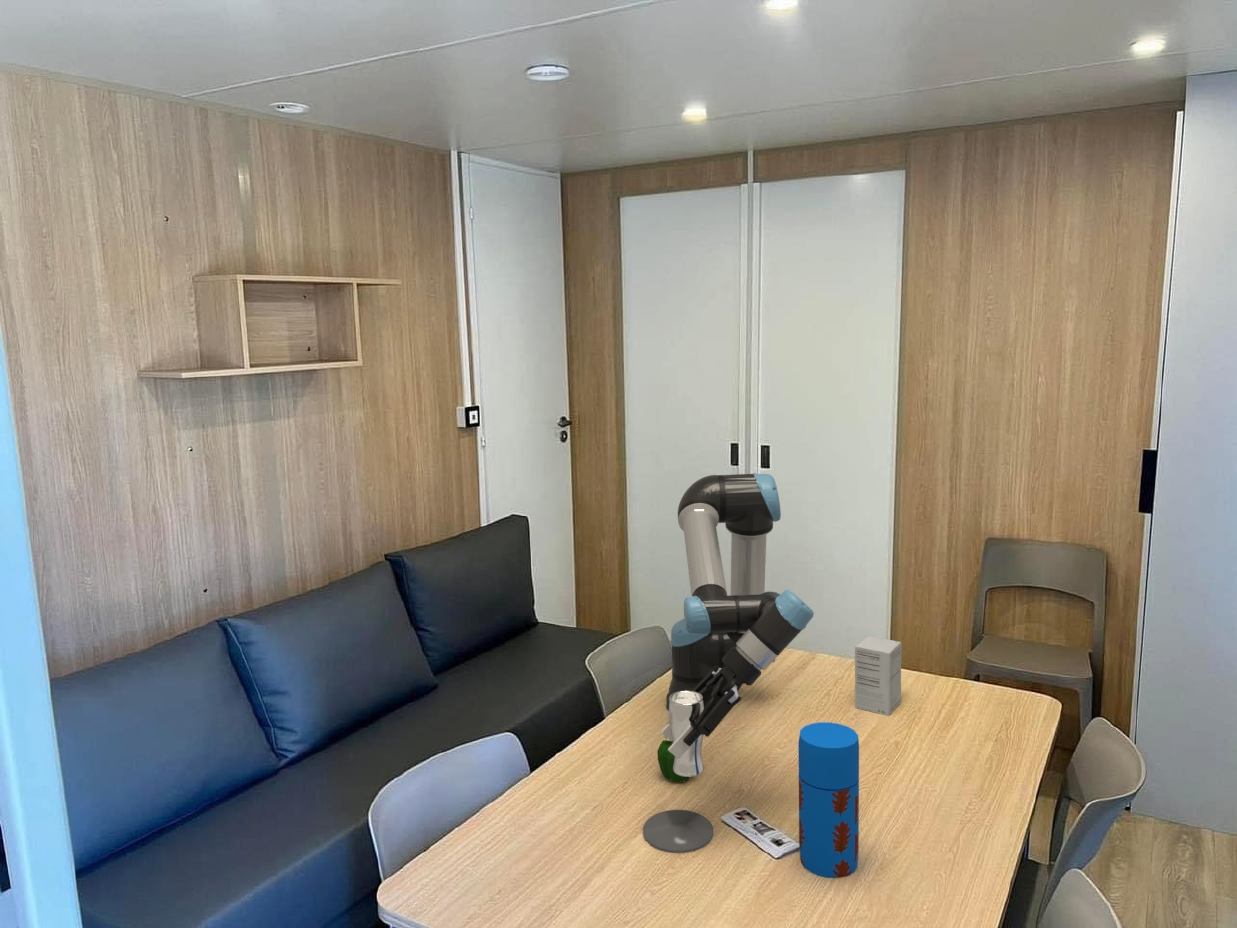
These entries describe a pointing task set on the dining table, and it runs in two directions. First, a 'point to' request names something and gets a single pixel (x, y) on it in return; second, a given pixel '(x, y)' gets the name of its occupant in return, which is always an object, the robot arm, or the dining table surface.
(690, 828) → the coaster
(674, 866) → the dining table surface
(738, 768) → the dining table surface
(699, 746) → the metal tumbler
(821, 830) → the thermos
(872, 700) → the supplement box
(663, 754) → the bell pepper
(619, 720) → the dining table surface
